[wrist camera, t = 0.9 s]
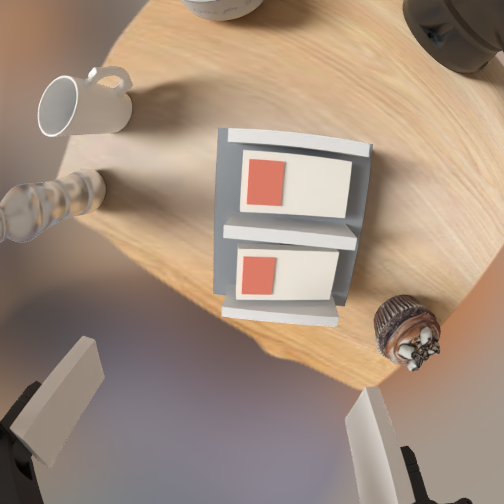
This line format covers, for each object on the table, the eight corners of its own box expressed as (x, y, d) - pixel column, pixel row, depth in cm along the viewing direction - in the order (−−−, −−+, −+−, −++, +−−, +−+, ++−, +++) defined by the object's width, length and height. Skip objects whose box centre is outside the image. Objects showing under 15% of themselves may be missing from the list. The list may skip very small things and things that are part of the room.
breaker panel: (359, 145, 29) (390, 143, 20) (337, 286, 36) (353, 330, 27) (227, 131, 30) (205, 123, 21) (221, 275, 37) (203, 317, 28)
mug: (108, 144, 32) (49, 149, 21) (90, 111, 30) (31, 108, 19) (161, 98, 29) (110, 80, 18) (139, 65, 27) (87, 41, 16)
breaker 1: (345, 160, 24) (352, 161, 23) (339, 214, 26) (345, 218, 25) (243, 150, 23) (244, 150, 22) (239, 208, 25) (240, 212, 24)
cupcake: (398, 278, 35) (428, 316, 25) (432, 307, 36) (460, 344, 27) (356, 324, 38) (372, 370, 29) (393, 348, 39) (411, 390, 30)
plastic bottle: (116, 201, 35) (8, 251, 16) (86, 215, 36) (-13, 266, 17) (104, 160, 33) (-11, 184, 14) (74, 177, 34) (-30, 209, 15)
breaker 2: (334, 246, 28) (339, 252, 26) (325, 292, 30) (330, 300, 28) (238, 243, 27) (238, 249, 25) (235, 292, 29) (236, 300, 27)
